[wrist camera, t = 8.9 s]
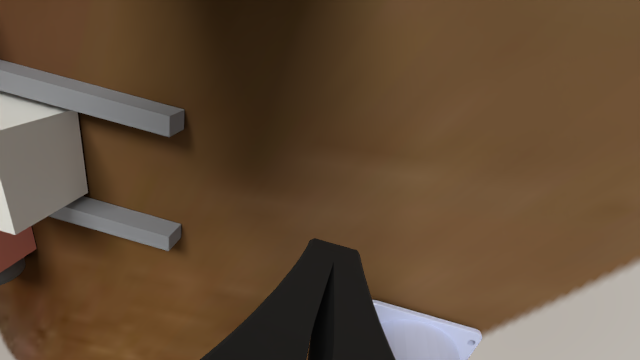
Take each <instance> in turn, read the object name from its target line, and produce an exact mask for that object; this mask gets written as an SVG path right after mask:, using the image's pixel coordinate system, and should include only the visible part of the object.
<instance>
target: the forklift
mask: <svg viewBox="0 0 640 360" xmlns="http://www.w3.org/2000/svg"><path fill="white" fill-rule="evenodd" d="M0 91H4V92H7V93H11V94H15V95H18V96H22V97H25V98H29V99H33V100H36V101H40V102H44V103H47V104H51V105H54V106H58V107H62V108H65V109H69V110H73V111H76V112H80V113H83V114H87V115H91V116H94V117H98V118H102V119H105V120H109V121H113V122H116V123H120V124H123V125H127V126H131V127H134V128H138V129H142V130H145V131H149V132H152V133H156V134H160V135H163V136H167V137H171V136H172V135H174V134H176V133H178V132H180V131H182V130H183V129H184V109H180V108H177V107H173V106H169V105H166V104H162V103H158V102H154V101H151V100H147V99H143V98H140V97H136V96H132V95H129V94H125V93H121V92H118V91H114V90H110V89H107V88H103V87H99V86H96V85H92V84H88V83H84V82H81V81H77V80H73V79H70V78H66V77H62V76H59V75H55V74H51V73H48V72H44V71H40V70H37V69H33V68H29V67H26V66H22V65H18V64H14V63H11V62H7V61H3V60H0ZM49 217H53V218H56V219H60V220H63V221H67V222H70V223H74V224H77V225H80V226H84V227H87V228H91V229H94V230H98V231H101V232H105V233H108V234H111V235H115V236H118V237H122V238H125V239H129V240H132V241H136V242H139V243H143V244H146V245H149V246H153V247H156V248H160V249H163V250H167V251H169V250H170V249H171V248H172V247H173V246H174V245H175V244H176V243H177V241H178V240H179V239H180V238H181V224H179V223H175V222H172V221H168V220H165V219H161V218H158V217H154V216H151V215H147V214H144V213H140V212H137V211H133V210H130V209H127V208H123V207H120V206H116V205H113V204H109V203H106V202H102V201H99V200H95V199H92V198H88V197H85V196H81V197H80V198H78V199H76V200H75V201H73V202H71V203H70V204H68V205H66V206H64V207H63V208H61V209H59V210H58V211H56V212H54V213H52V214H51V215H49ZM35 249H37V248H36V244H35V240H34V235H33V231H32V227H31V226H30V227H28V228H27V229H25V230H23V231H22V232H20V233H18V234H17V235H14V234H10V233H7V232H3V231H0V285H2V284H5V283H7V282H9V281H11V280H13V279H14V278H16V277H17V276H18V275H19V274H21V272H22V271H23V270H24V268H25V260H24V257H25V256H26V255H28V254H29V253H31V252H32V251H34V250H35Z"/></svg>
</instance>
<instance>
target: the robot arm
mask: <svg viewBox="0 0 640 360" xmlns="http://www.w3.org/2000/svg"><path fill="white" fill-rule="evenodd" d="M310 337H311V339H310ZM481 340H482V335H481V332H480V331H479V330H477V329H474V328H471V327H467V326H464V325H461V324H457V323H454V322H450V321H447V320H443V319H440V318H436V317H433V316H429V315H426V314H422V313H419V312H415V311H412V310H409V309H405V308H402V307H398V306H395V305H391V304H388V303H384V302H381V301H377V300H372V298H371V295H370V292H369V289H368V285H367V282H366V279H365V275H364V271H363V267H362V263H361V259H360V254H359V253H358V251H357V250H354V249H350V248H347V247H343V246H340V245H336V244H333V243H329V242H326V241H322V240H319V239H315V238H314V239H312V240H310V241H309V243H308V246H307V248H306V249H305V251H304V253H303V254H302V256H301V257H300V259H299V260H298V261H297V263H296V264H295V266H294V267H293V268H292V270H291V271H290V272H289V273H288V274H287V276H286V277H285V278H284V279H283V280H282V282H281V283H280V284H279V285H278V286H277V288H276V289H275V290H274V291H273V292H272V293H271V294H270V295H269V296H268V297H267V298H266V299H265V300H264V302H263V303H262V304H261V305H260V306H259V307H258V308H257V309H256V310H255V311H254V312H253V313H252V314H251V315H250V316H249V317H248V318H247V319H246V320H245V321H244V322H243V323H242V324H241V325H239V326H238V327H237V328H236V329H235V330H234V331H233V332H232V333H231V334H230V335H228V336H227V337H226V338H225V339H224V340H223V341H222V342H221V343H219V344H218V345H217V346H216V347H215V348H213V349H212V350H211V351H210V352H209V353H207V354H206V355H205V356H204V357H203V358H201V359H200V360H306V358H307V353H308V347H309V342H310V347H309V354H308V360H468V358H469V357H470V355H471V354H472V352H473V351H474V350H475V348H476V347H477V345H478V344H479V343H480V341H481Z"/></svg>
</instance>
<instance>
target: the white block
mask: <svg viewBox="0 0 640 360" xmlns="http://www.w3.org/2000/svg"><path fill="white" fill-rule="evenodd" d="M87 193H88V189H87V181H86V173H85V165H84V158H83V150H82V142H81V135H80V127H79V119H78V112H76V111H73V110H69V109H65V108H62V107H58V106H54V105H51V104H47V103H44V102H40V101H36V100H33V99H29V98H25V97H22V96H18V95H15V94H11V93H7V92H4V91H0V231H3V232H7V233H10V234H14V235H17V234H18V233H20V232H22V231H23V230H25V229H27V228H28V227H30V226H32V225H34V224H35V223H37V222H39V221H40V220H42V219H44V218H46V217H47V216H49V215H51V214H52V213H54V212H56V211H58V210H59V209H61V208H63V207H64V206H66V205H68V204H70V203H71V202H73V201H75V200H76V199H78V198H80V197H81V196H83V195H85V194H87Z"/></svg>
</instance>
